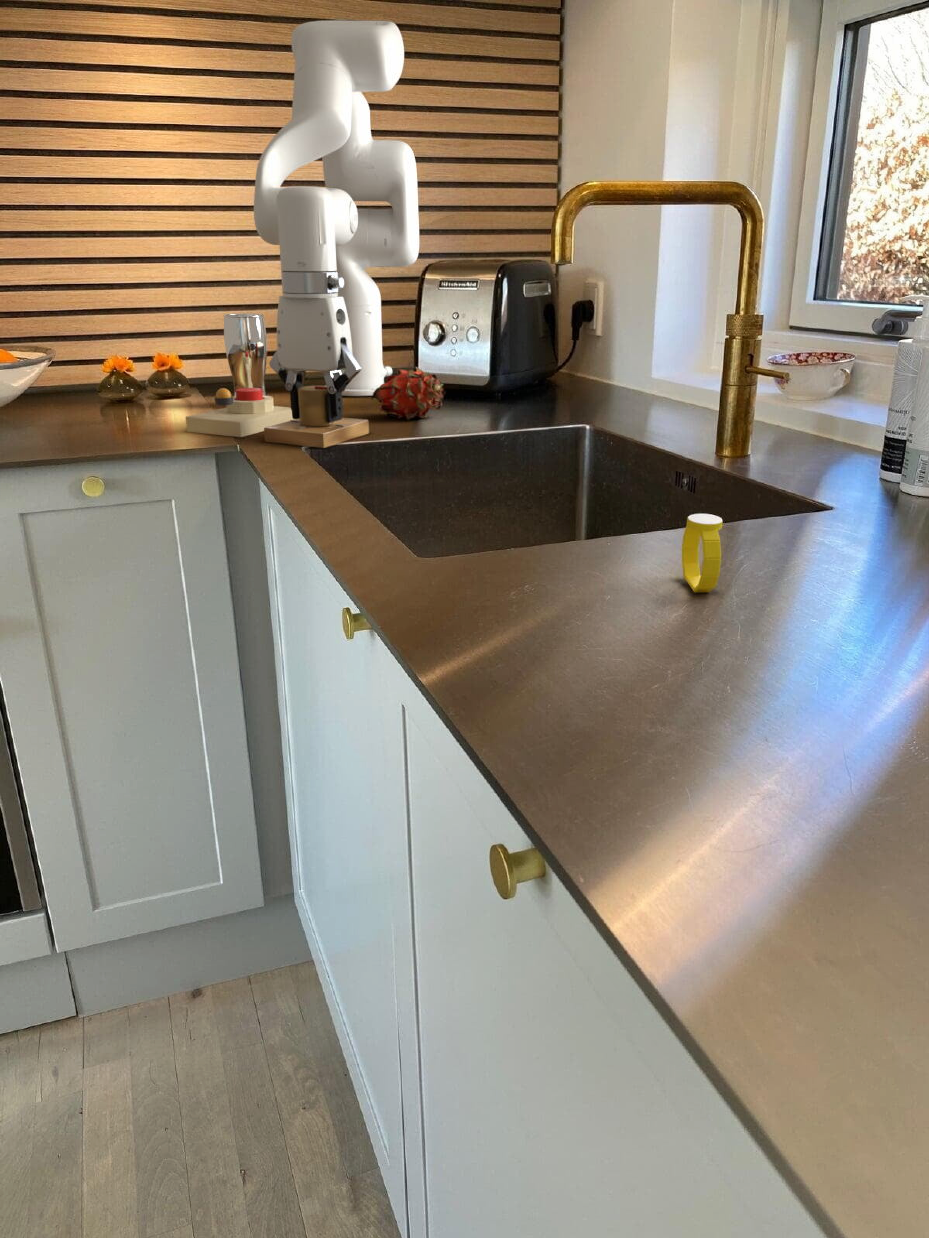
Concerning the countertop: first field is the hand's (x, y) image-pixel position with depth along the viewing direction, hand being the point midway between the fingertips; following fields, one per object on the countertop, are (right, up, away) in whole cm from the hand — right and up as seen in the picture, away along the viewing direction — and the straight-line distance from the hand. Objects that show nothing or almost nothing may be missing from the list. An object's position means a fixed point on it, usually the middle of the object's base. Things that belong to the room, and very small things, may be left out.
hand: (317, 418), depth 135 cm
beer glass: (-16, +8, +27) cm, 32 cm away
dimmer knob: (0, -1, 0) cm, 1 cm away
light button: (-12, +5, +9) cm, 16 cm away
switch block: (-13, 0, +9) cm, 15 cm away
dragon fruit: (+12, +3, +16) cm, 21 cm away
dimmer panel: (0, -3, +1) cm, 3 cm away
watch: (+41, -27, -57) cm, 75 cm away
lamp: (-14, +3, +4) cm, 15 cm away
